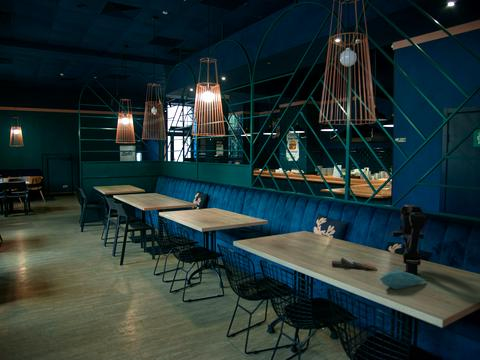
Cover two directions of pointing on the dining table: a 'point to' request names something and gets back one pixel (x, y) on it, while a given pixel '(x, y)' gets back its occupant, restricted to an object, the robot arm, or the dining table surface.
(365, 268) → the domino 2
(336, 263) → the domino
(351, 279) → the dining table surface
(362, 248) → the dining table surface
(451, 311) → the dining table surface
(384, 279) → the crystal
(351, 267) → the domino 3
